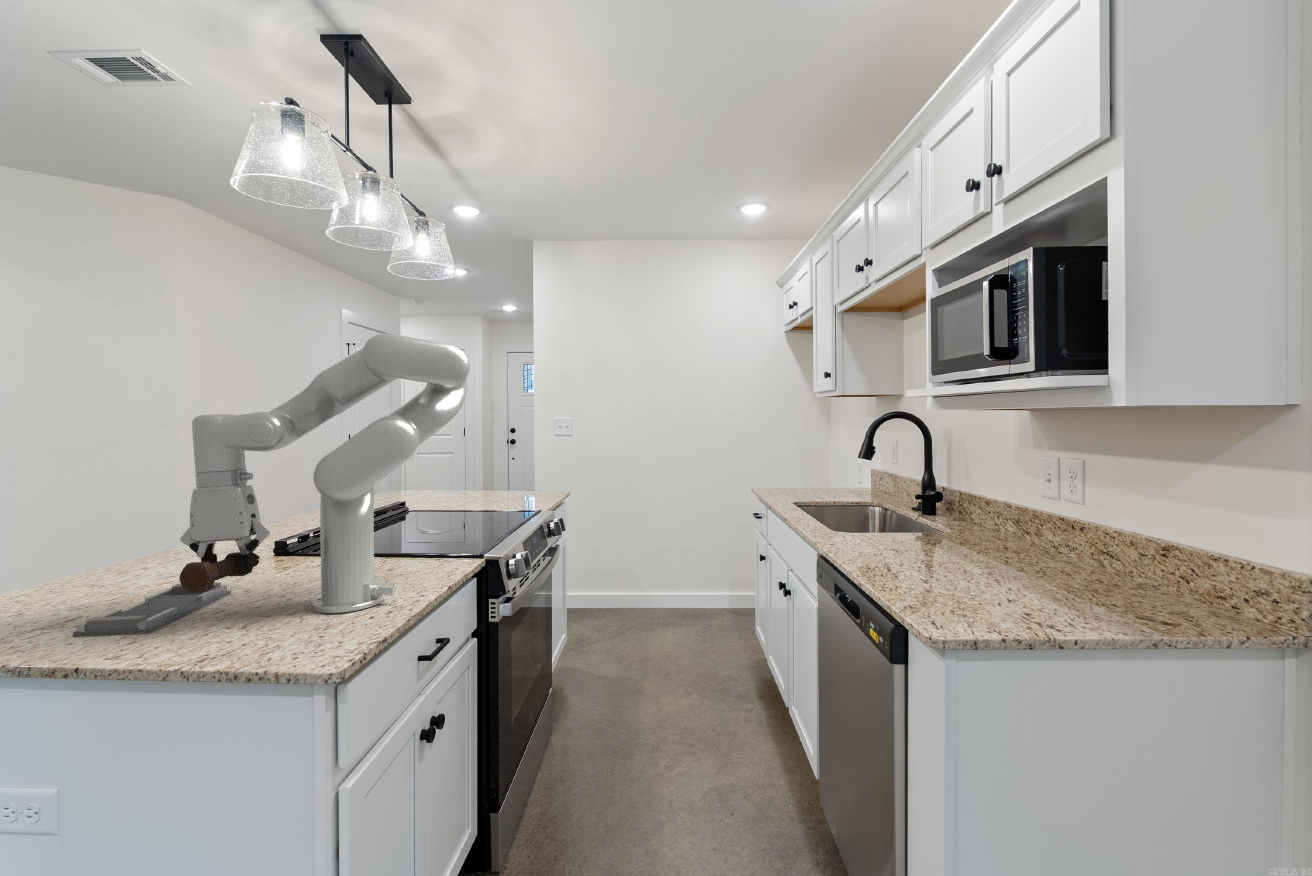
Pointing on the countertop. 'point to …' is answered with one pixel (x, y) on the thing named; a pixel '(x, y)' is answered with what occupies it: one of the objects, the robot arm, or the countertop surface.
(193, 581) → the bolt
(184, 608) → the grey stepped tray
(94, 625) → the grey shallow tray
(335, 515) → the robot arm
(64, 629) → the countertop surface
